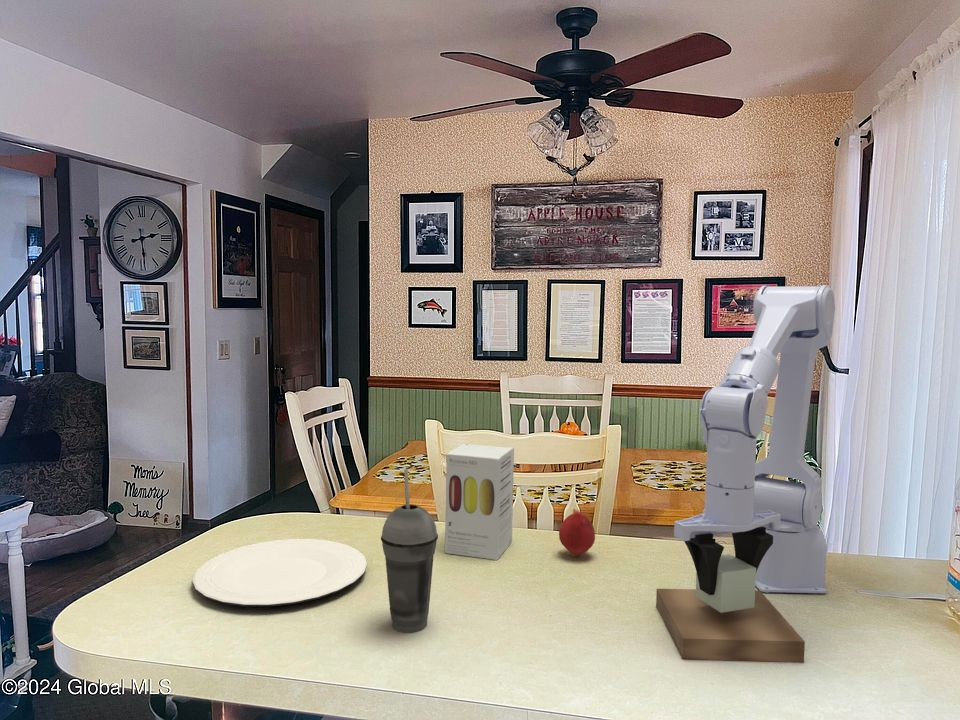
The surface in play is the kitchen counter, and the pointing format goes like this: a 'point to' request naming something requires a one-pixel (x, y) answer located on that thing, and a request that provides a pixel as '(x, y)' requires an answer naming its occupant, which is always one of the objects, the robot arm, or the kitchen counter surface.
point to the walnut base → (728, 629)
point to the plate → (279, 572)
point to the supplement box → (479, 500)
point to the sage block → (731, 586)
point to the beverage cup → (409, 563)
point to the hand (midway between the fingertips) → (725, 589)
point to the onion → (577, 533)
